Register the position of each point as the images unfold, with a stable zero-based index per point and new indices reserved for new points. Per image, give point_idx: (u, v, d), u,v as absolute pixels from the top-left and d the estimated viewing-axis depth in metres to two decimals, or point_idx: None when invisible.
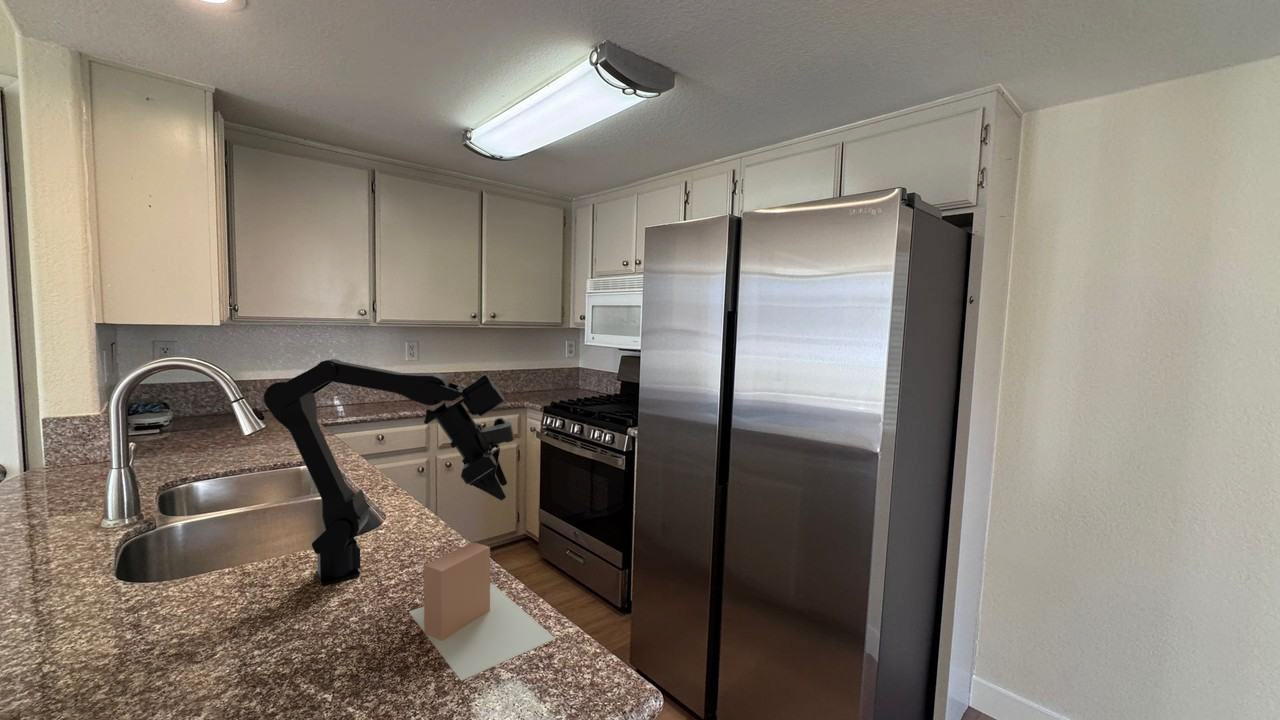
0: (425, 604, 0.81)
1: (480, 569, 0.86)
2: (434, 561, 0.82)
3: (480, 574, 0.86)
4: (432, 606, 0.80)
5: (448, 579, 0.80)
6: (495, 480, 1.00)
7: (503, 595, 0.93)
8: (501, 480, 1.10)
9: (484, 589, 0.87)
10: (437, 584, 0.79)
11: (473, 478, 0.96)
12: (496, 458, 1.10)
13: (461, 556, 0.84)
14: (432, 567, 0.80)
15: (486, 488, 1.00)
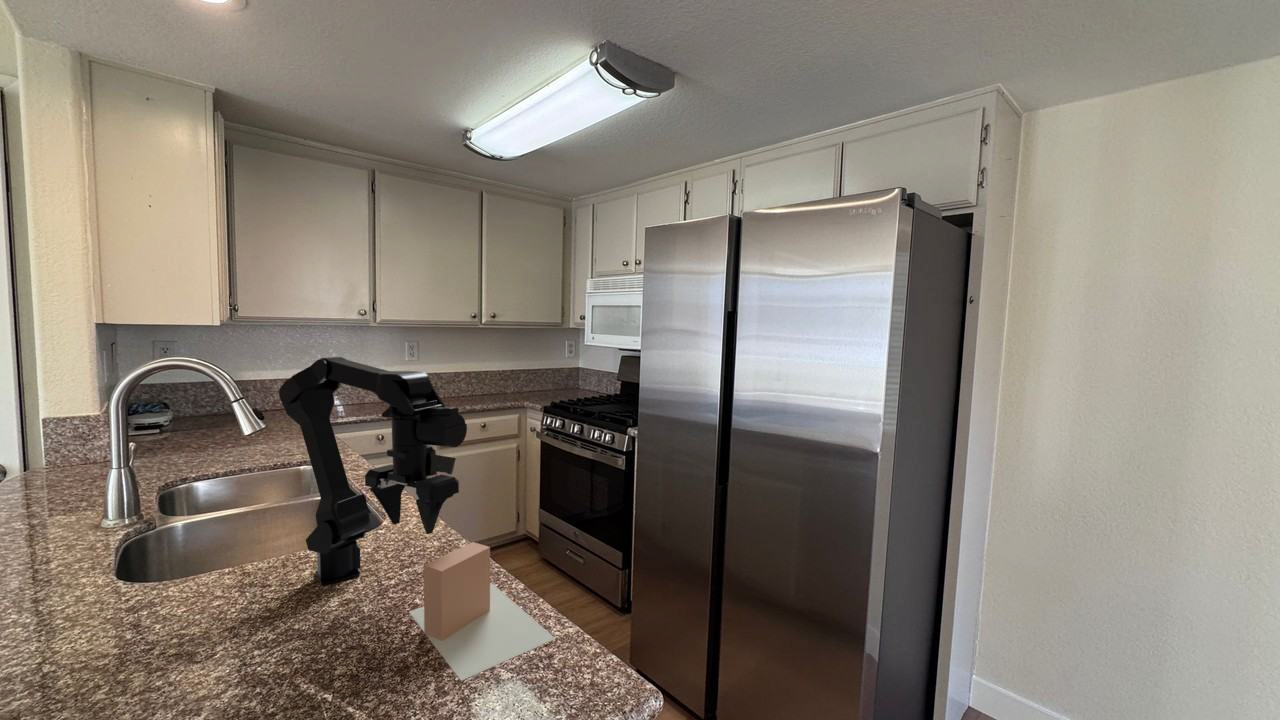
0: (425, 604, 0.81)
1: (480, 569, 0.86)
2: (434, 561, 0.82)
3: (480, 574, 0.86)
4: (432, 606, 0.80)
5: (448, 579, 0.80)
6: (439, 508, 0.91)
7: (503, 595, 0.93)
8: (396, 517, 0.95)
9: (484, 589, 0.87)
10: (437, 584, 0.79)
11: (440, 496, 0.87)
12: (401, 490, 0.97)
13: (461, 556, 0.84)
14: (432, 567, 0.80)
15: (428, 514, 0.89)
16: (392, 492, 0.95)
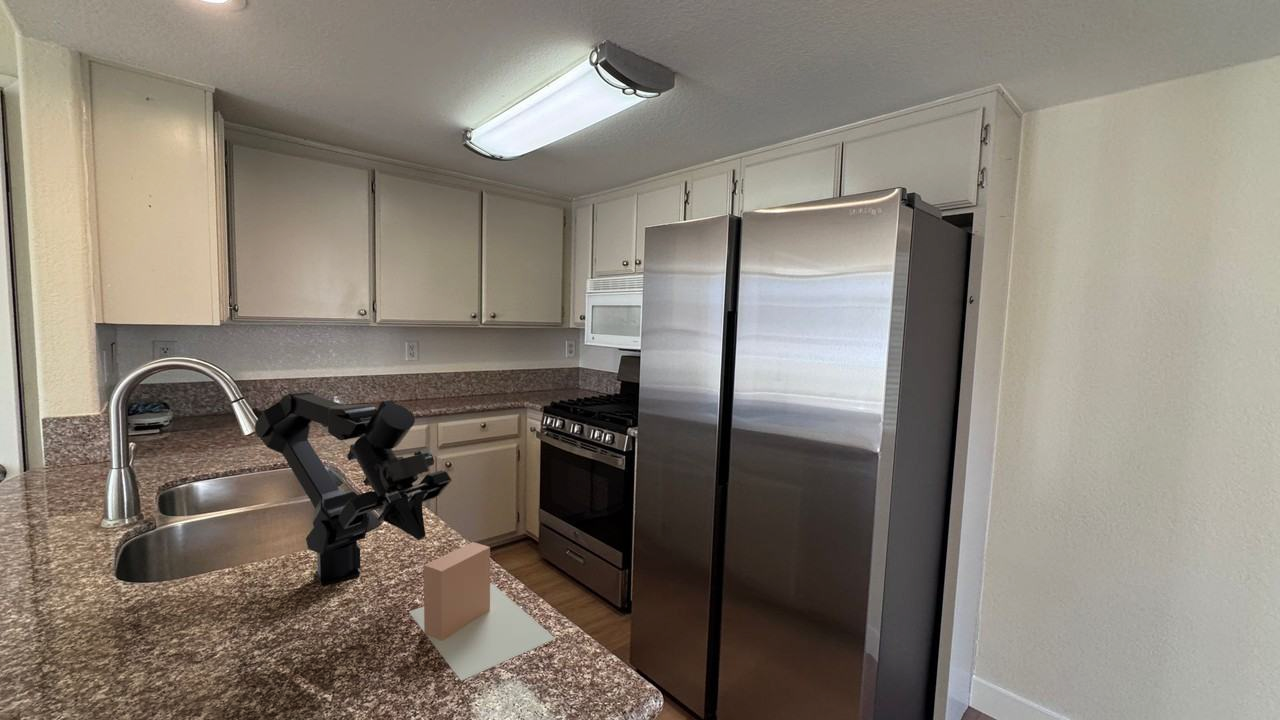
0: (425, 604, 0.81)
1: (480, 569, 0.86)
2: (434, 561, 0.82)
3: (480, 574, 0.86)
4: (432, 606, 0.80)
5: (448, 579, 0.80)
6: (404, 516, 0.87)
7: (503, 595, 0.93)
8: None
9: (484, 589, 0.87)
10: (437, 584, 0.79)
11: (345, 522, 0.82)
12: (413, 504, 0.90)
13: (461, 556, 0.84)
14: (432, 567, 0.80)
15: (400, 525, 0.88)
16: None
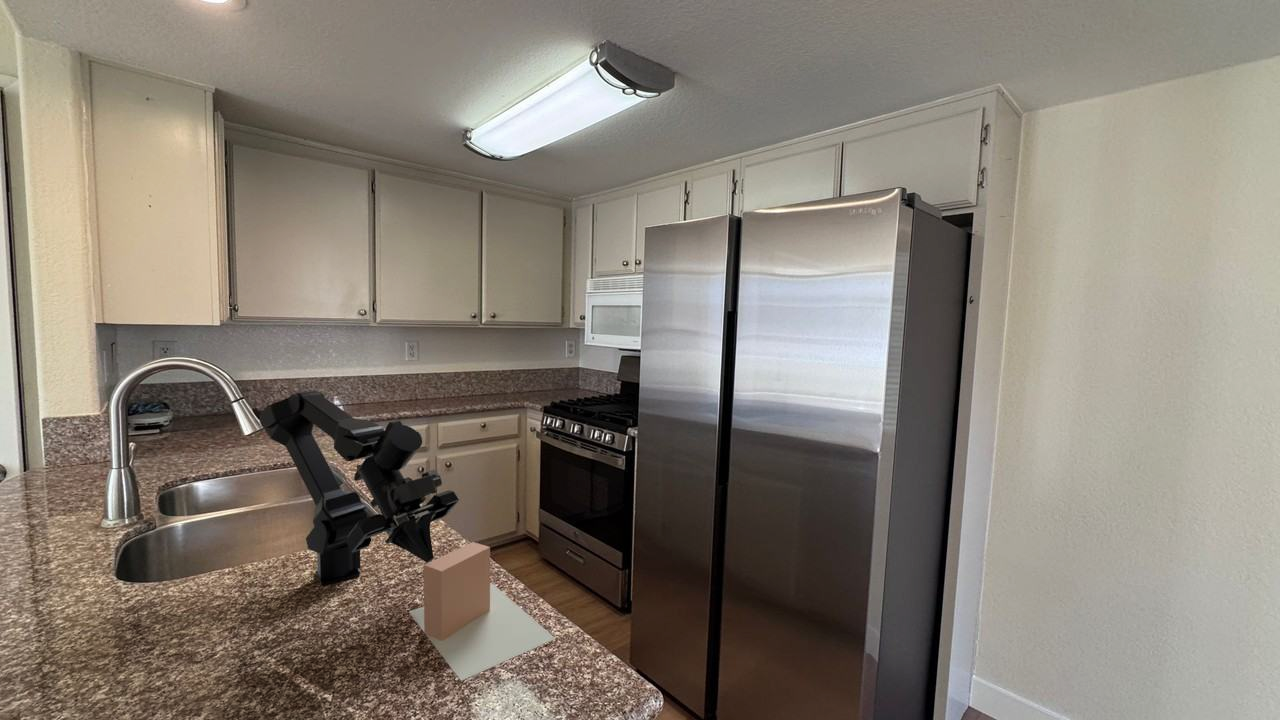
0: (425, 604, 0.81)
1: (480, 569, 0.86)
2: (434, 561, 0.82)
3: (480, 574, 0.86)
4: (432, 606, 0.80)
5: (448, 579, 0.80)
6: (412, 539, 0.87)
7: (503, 595, 0.93)
8: None
9: (484, 589, 0.87)
10: (437, 584, 0.79)
11: (353, 546, 0.82)
12: (421, 526, 0.89)
13: (461, 556, 0.84)
14: (432, 567, 0.80)
15: (407, 547, 0.87)
16: None
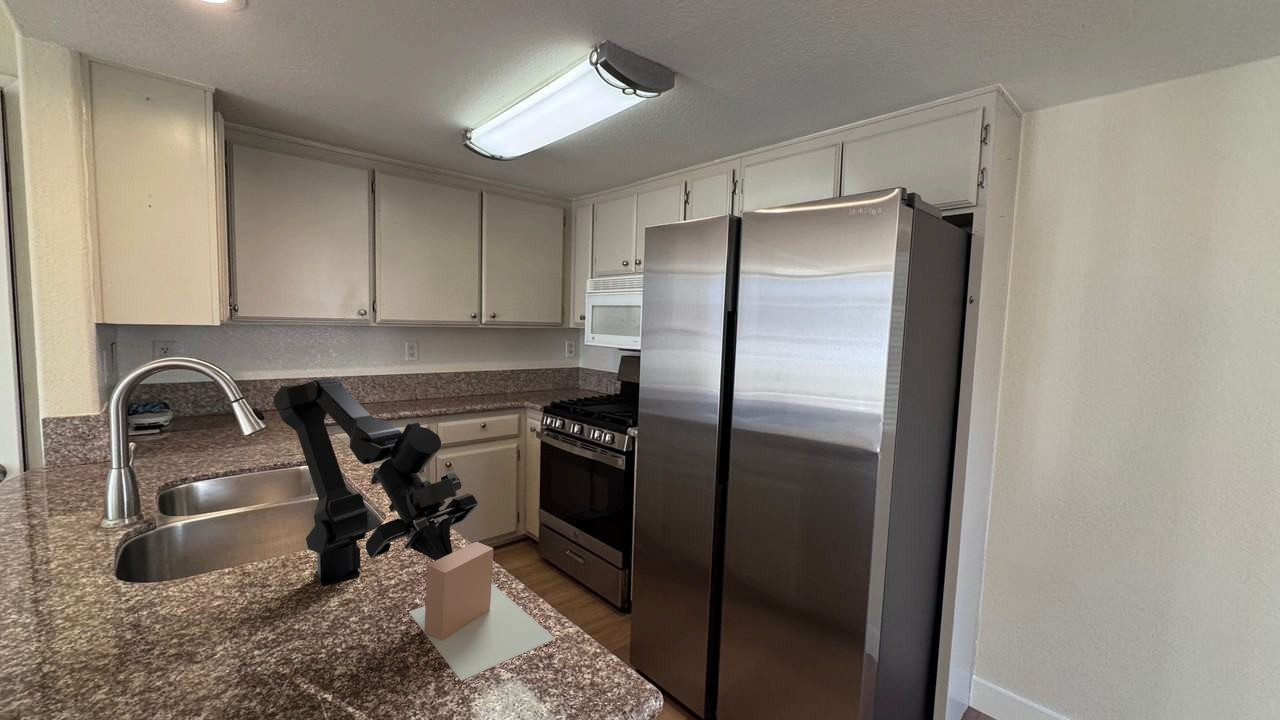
0: (426, 603, 0.81)
1: (483, 570, 0.85)
2: (438, 561, 0.81)
3: (482, 575, 0.85)
4: (434, 605, 0.80)
5: (451, 580, 0.79)
6: (432, 544, 0.84)
7: (503, 595, 0.93)
8: None
9: (485, 589, 0.86)
10: (440, 585, 0.79)
11: (373, 552, 0.79)
12: (440, 530, 0.86)
13: (464, 556, 0.83)
14: (435, 567, 0.79)
15: (427, 553, 0.85)
16: None
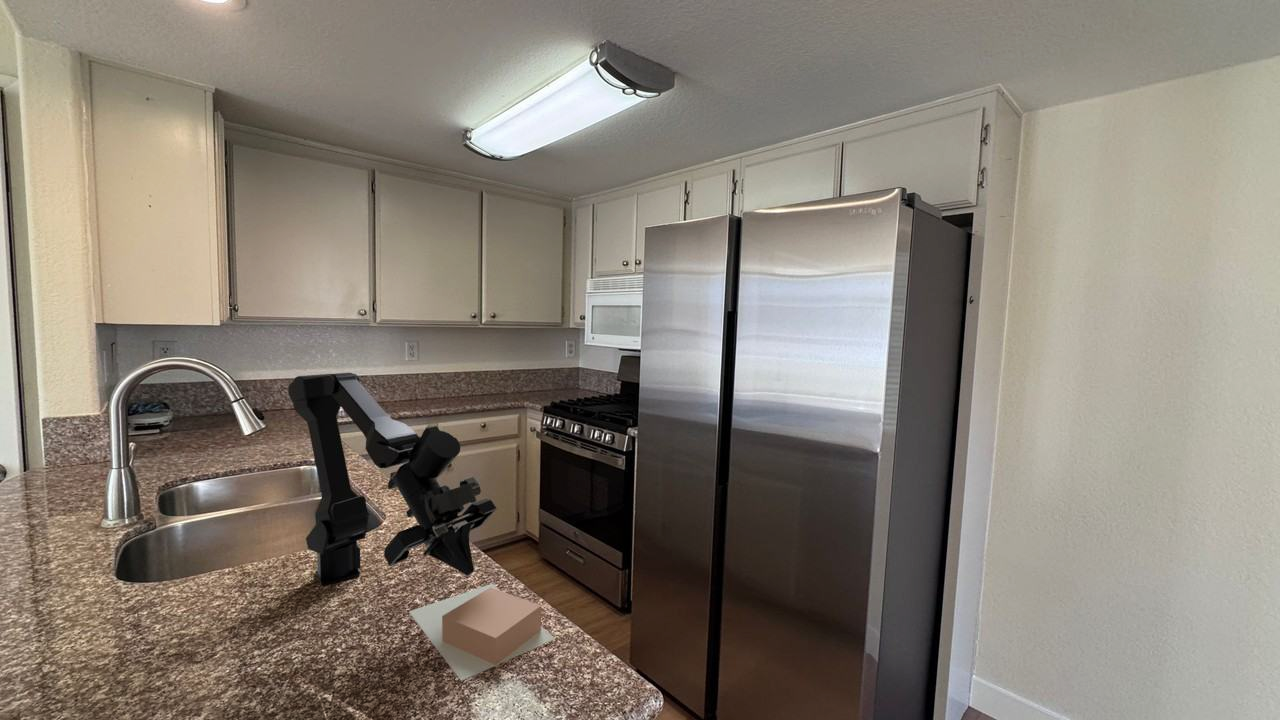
0: (464, 627, 0.77)
1: None
2: (504, 635, 0.75)
3: None
4: (465, 638, 0.77)
5: None
6: (451, 551, 0.82)
7: None
8: None
9: None
10: (483, 653, 0.75)
11: (392, 559, 0.77)
12: (460, 537, 0.84)
13: (520, 636, 0.78)
14: (496, 649, 0.74)
15: (446, 560, 0.83)
16: None
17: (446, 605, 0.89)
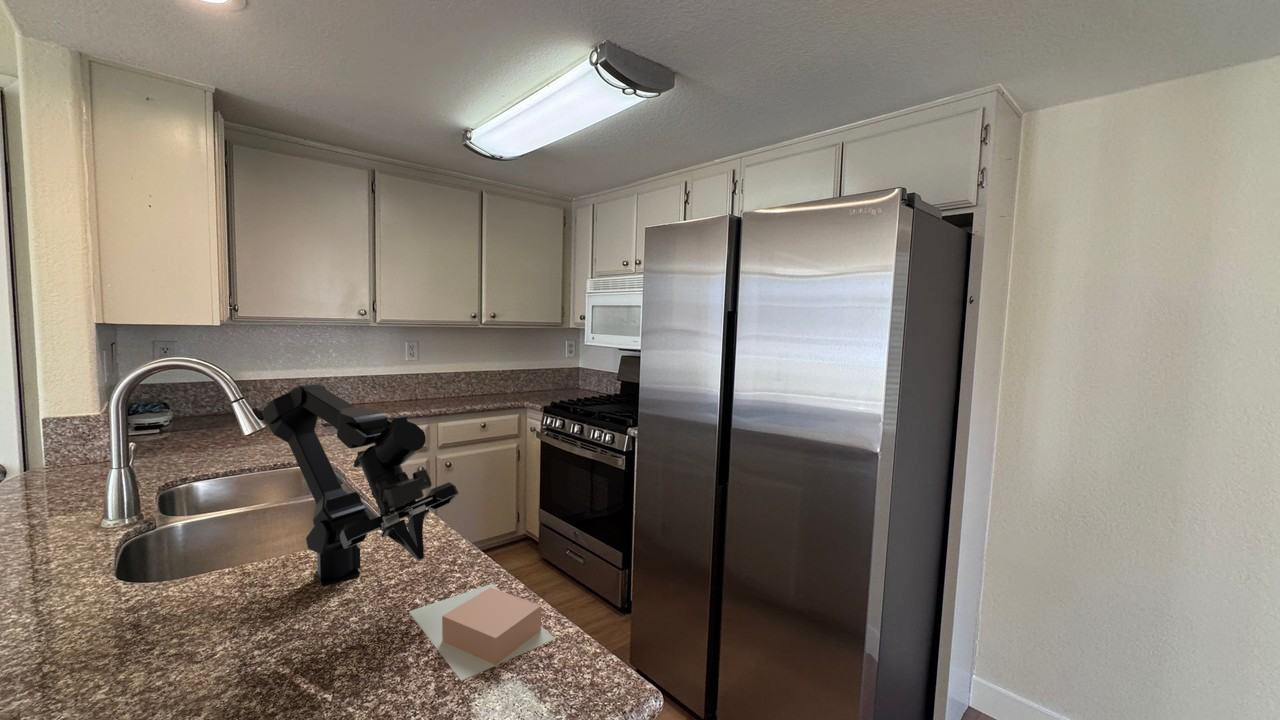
0: (464, 627, 0.77)
1: None
2: (504, 635, 0.75)
3: None
4: (465, 638, 0.77)
5: None
6: (402, 538, 0.87)
7: None
8: None
9: None
10: (483, 653, 0.75)
11: (344, 545, 0.84)
12: (413, 524, 0.89)
13: (520, 636, 0.78)
14: (496, 649, 0.74)
15: (401, 543, 0.89)
16: (410, 526, 0.90)
17: (446, 605, 0.89)
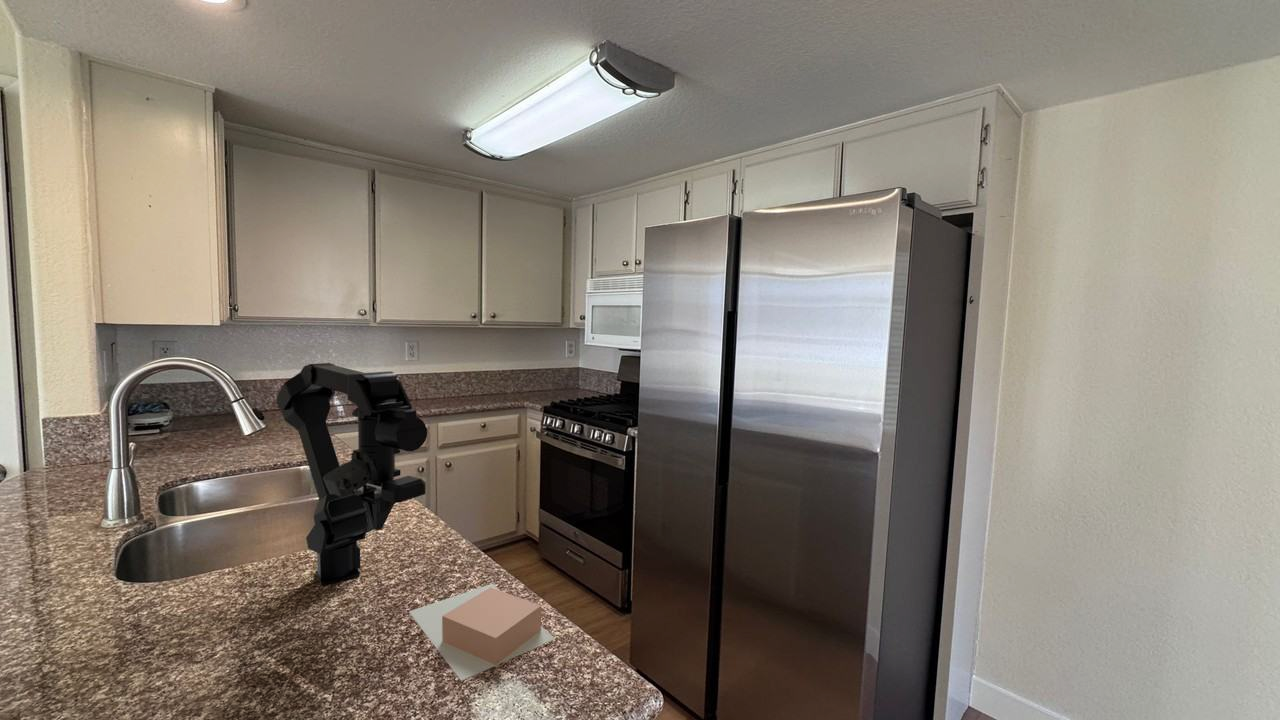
0: (464, 627, 0.77)
1: None
2: (504, 635, 0.75)
3: None
4: (465, 638, 0.77)
5: None
6: None
7: None
8: None
9: None
10: (483, 653, 0.75)
11: None
12: None
13: (520, 636, 0.78)
14: (496, 649, 0.74)
15: None
16: None
17: (446, 605, 0.89)
